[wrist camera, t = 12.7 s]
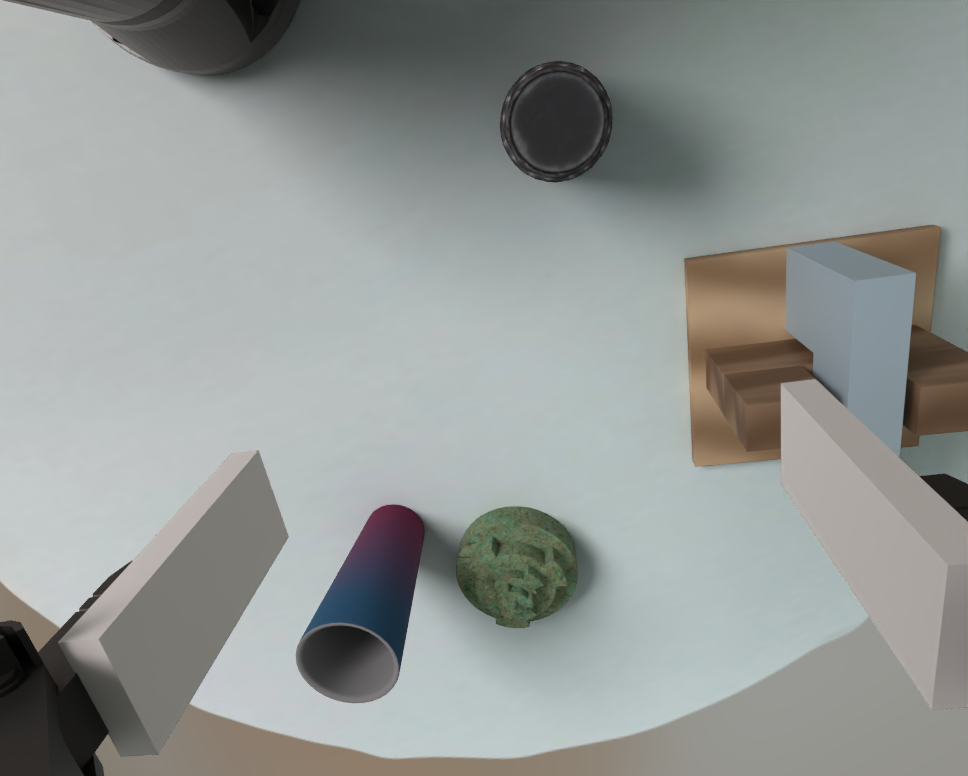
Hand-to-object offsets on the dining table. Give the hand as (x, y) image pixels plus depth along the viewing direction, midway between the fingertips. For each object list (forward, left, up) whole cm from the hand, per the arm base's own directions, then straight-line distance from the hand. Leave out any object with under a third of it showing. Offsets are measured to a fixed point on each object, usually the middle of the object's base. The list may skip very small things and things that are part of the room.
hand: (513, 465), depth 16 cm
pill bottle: (-8, +2, -32) cm, 33 cm away
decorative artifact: (+26, -4, -32) cm, 41 cm away
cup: (+22, -15, -32) cm, 41 cm away
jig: (+10, +18, -31) cm, 38 cm away
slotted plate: (+10, +18, -30) cm, 37 cm away
